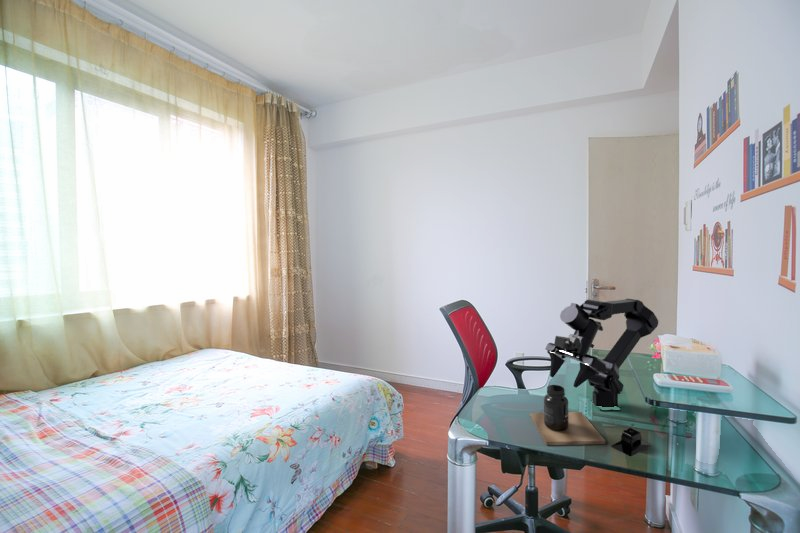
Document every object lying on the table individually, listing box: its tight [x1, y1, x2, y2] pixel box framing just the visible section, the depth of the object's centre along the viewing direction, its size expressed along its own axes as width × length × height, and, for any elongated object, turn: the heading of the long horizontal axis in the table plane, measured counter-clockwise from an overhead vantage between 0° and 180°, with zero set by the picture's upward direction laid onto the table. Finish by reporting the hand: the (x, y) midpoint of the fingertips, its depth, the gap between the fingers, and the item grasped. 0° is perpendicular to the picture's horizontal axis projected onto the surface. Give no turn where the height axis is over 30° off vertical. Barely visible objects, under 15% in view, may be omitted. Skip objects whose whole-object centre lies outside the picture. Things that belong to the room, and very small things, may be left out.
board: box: [530, 411, 606, 446], centre depth 112 cm, size 16×16×1 cm
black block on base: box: [610, 427, 652, 458], centre depth 102 cm, size 12×7×5 cm, turn 117°
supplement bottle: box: [543, 384, 569, 431], centre depth 112 cm, size 7×7×12 cm
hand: (562, 381), depth 114 cm, fingers open, 9 cm apart
